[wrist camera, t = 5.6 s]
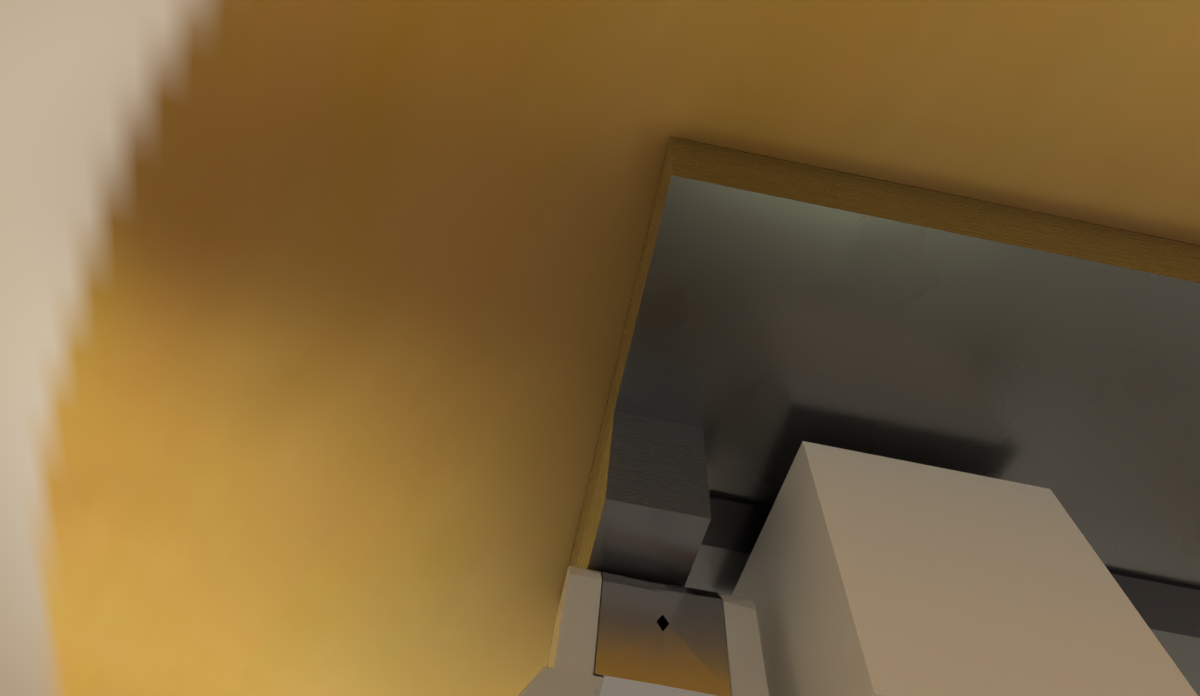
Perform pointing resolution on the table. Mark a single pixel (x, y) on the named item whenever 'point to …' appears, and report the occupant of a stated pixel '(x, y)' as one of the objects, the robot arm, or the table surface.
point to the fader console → (897, 370)
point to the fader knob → (938, 589)
